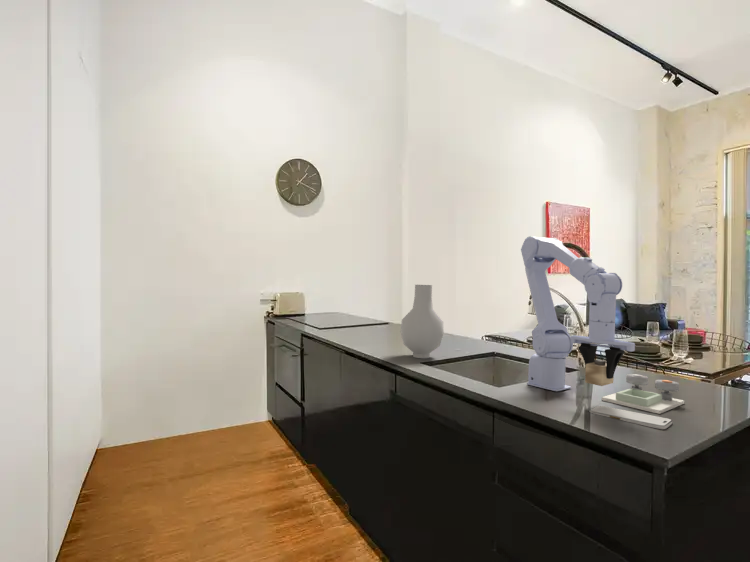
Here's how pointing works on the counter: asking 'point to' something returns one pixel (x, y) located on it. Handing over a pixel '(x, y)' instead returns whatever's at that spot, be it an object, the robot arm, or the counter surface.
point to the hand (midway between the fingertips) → (600, 376)
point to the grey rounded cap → (667, 385)
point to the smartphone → (633, 417)
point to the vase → (422, 324)
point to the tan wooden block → (597, 373)
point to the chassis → (643, 397)
